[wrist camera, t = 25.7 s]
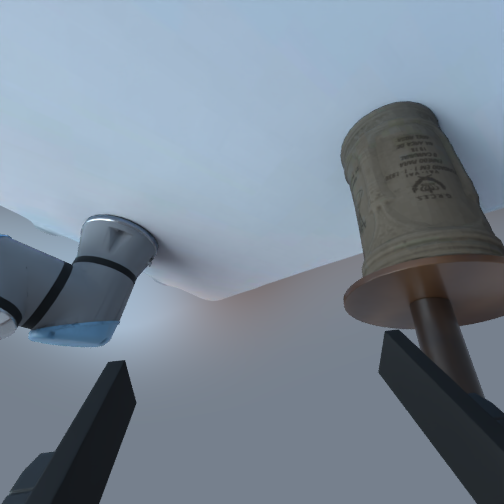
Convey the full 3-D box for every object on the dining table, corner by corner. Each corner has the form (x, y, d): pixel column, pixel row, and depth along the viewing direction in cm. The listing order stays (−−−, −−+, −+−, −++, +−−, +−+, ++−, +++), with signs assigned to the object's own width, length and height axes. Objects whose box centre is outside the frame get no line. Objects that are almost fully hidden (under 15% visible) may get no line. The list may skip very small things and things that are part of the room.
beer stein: (335, 112, 28) (357, 267, 18) (448, 76, 25) (556, 250, 14) (345, 200, 40) (362, 323, 30) (422, 186, 37) (470, 321, 27)
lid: (342, 322, 29) (349, 403, 25) (345, 259, 18) (360, 382, 14) (486, 325, 25) (526, 421, 21) (599, 246, 15) (736, 412, 10)
